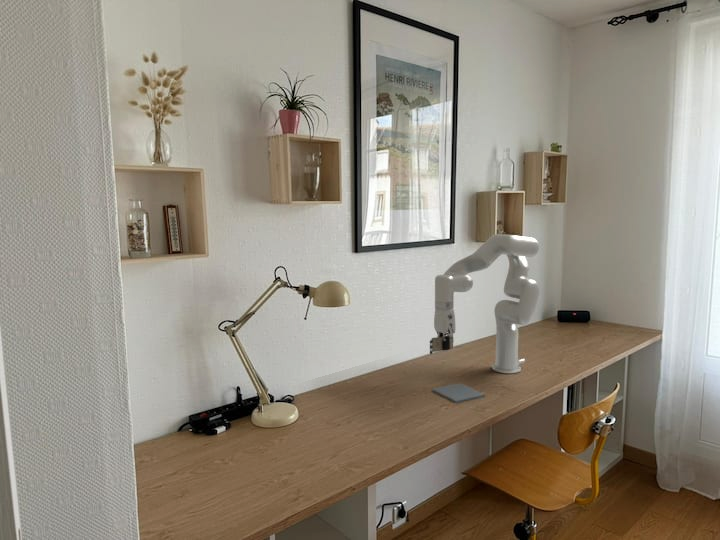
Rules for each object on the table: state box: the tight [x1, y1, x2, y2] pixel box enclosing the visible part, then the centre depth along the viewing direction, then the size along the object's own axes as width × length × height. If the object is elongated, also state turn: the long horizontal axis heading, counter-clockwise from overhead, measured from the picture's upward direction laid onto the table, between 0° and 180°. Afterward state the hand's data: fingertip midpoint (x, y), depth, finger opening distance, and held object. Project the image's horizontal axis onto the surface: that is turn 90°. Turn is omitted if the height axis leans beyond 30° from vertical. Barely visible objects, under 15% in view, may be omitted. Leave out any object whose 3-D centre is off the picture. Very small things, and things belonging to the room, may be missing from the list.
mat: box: [431, 382, 486, 404], centre depth 199 cm, size 14×15×1 cm
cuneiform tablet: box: [429, 336, 455, 355], centre depth 207 cm, size 6×4×12 cm
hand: (443, 348), depth 209 cm, fingers closed on cuneiform tablet, 2 cm apart
